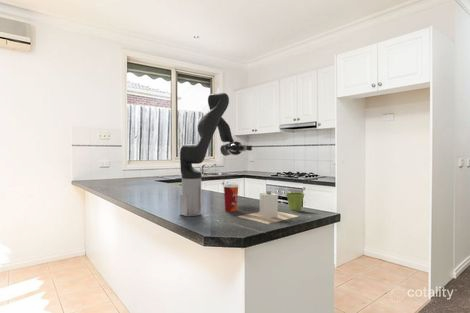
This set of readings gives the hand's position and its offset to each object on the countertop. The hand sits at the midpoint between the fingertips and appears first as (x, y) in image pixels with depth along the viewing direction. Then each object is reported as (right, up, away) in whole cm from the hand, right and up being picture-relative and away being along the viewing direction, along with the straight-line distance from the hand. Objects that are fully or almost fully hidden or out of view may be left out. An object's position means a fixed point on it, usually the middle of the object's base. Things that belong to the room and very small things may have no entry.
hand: (241, 147), depth 146 cm
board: (+12, -32, -17) cm, 39 cm away
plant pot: (+28, -32, -1) cm, 43 cm away
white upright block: (+12, -31, -17) cm, 38 cm away
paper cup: (-5, -32, -5) cm, 33 cm away
